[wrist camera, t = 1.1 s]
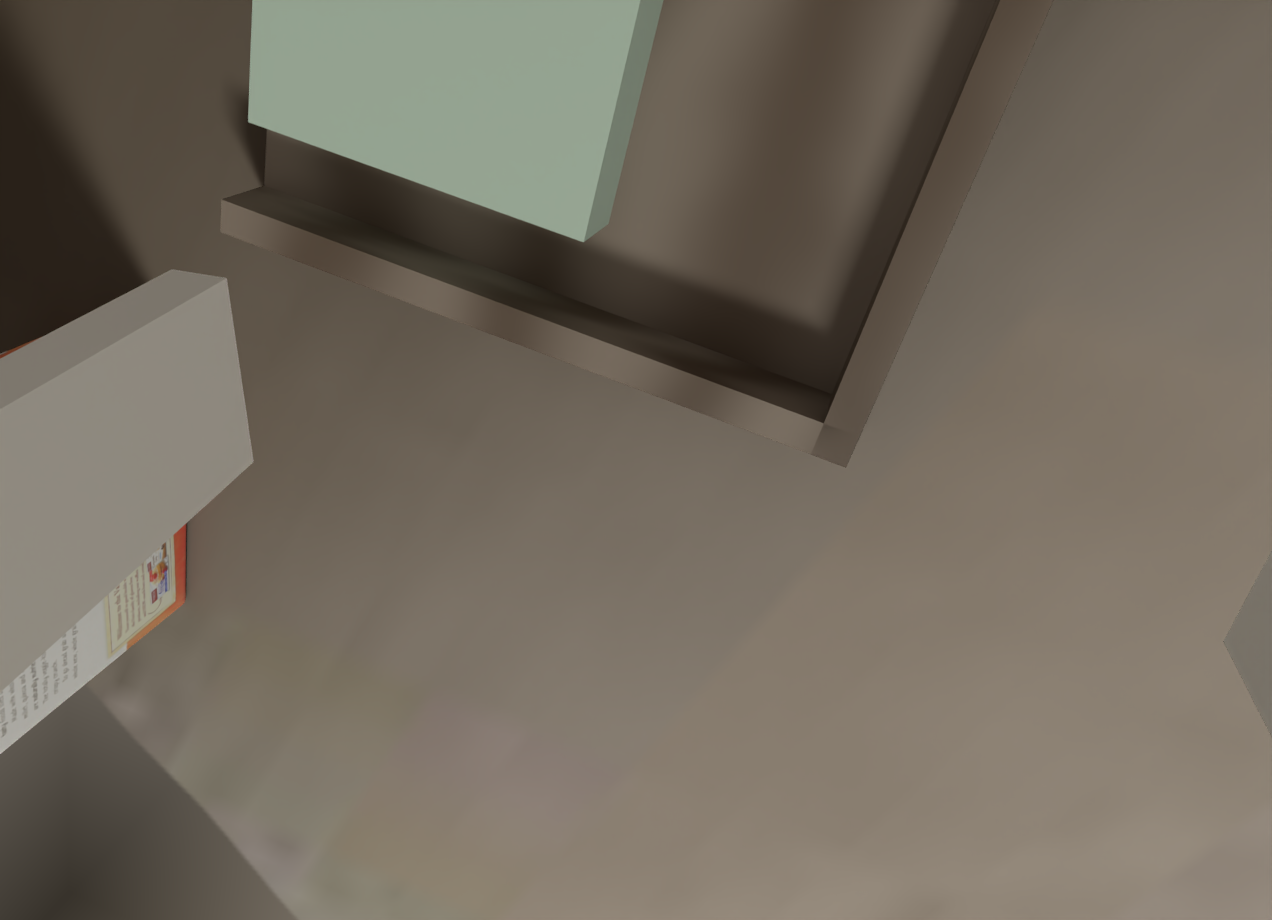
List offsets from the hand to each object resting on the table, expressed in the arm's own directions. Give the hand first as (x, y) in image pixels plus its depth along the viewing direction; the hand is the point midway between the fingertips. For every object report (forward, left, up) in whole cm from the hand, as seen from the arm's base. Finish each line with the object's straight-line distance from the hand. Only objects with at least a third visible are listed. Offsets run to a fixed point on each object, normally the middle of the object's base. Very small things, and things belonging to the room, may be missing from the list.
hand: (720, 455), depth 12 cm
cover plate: (+13, -2, -20) cm, 24 cm away
